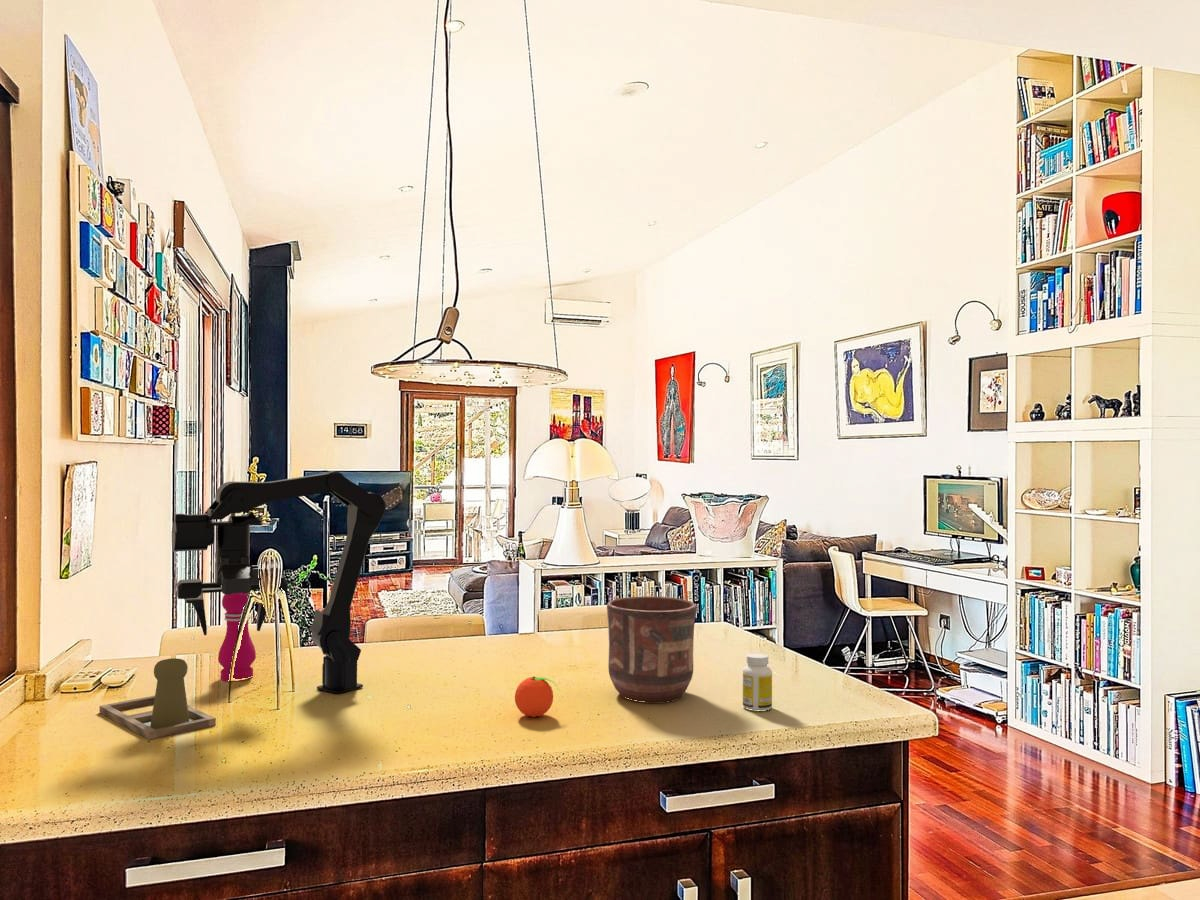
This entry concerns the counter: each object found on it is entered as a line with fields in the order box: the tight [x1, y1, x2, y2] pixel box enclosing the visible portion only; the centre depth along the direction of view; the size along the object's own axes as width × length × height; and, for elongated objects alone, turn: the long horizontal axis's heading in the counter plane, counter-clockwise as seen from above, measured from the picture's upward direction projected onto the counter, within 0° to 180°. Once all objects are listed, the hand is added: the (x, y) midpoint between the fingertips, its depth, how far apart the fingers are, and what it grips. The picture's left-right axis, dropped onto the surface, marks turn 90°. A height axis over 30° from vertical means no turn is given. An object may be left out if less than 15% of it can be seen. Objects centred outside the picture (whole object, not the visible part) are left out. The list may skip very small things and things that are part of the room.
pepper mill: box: [217, 593, 257, 682], centre depth 185 cm, size 7×7×20 cm
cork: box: [150, 657, 190, 729], centre depth 153 cm, size 6×6×11 cm
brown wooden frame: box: [98, 695, 217, 740], centre depth 157 cm, size 22×11×1 cm, turn 48°
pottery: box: [606, 595, 697, 703], centre depth 176 cm, size 18×18×18 cm
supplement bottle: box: [742, 653, 773, 711], centre depth 167 cm, size 5×5×10 cm
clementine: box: [514, 676, 560, 718], centre depth 161 cm, size 8×7×7 cm
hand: (232, 632), depth 167 cm, fingers open, 9 cm apart
